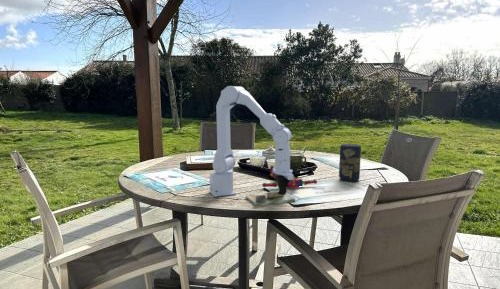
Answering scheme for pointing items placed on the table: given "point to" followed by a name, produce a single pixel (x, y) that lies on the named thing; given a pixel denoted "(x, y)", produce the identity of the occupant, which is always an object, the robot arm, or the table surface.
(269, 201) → the door board
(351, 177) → the canister
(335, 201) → the table surface
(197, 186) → the table surface
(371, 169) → the table surface
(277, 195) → the swing latch
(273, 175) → the toy
